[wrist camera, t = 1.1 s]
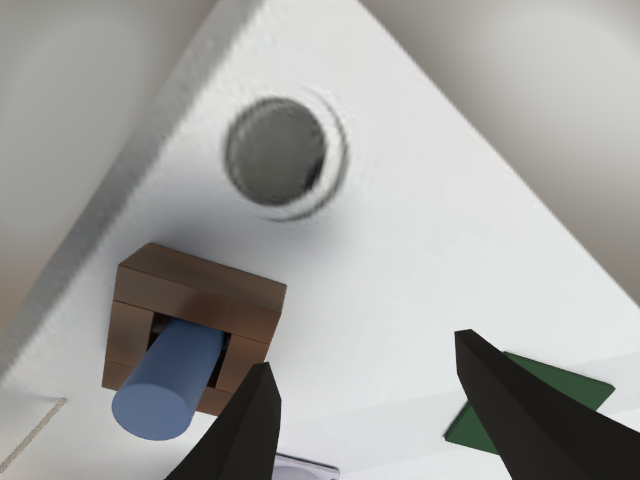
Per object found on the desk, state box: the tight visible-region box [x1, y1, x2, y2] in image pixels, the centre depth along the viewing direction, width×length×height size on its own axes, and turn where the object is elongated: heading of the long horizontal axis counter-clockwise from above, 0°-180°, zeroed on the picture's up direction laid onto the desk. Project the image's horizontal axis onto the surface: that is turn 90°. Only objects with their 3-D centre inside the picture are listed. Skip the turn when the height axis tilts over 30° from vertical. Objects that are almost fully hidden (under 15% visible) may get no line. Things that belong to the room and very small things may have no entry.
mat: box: [444, 352, 616, 455], centre depth 27 cm, size 10×10×1 cm
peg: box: [112, 317, 229, 441], centre depth 20 cm, size 4×4×8 cm
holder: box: [102, 243, 287, 416], centre depth 22 cm, size 10×10×4 cm
